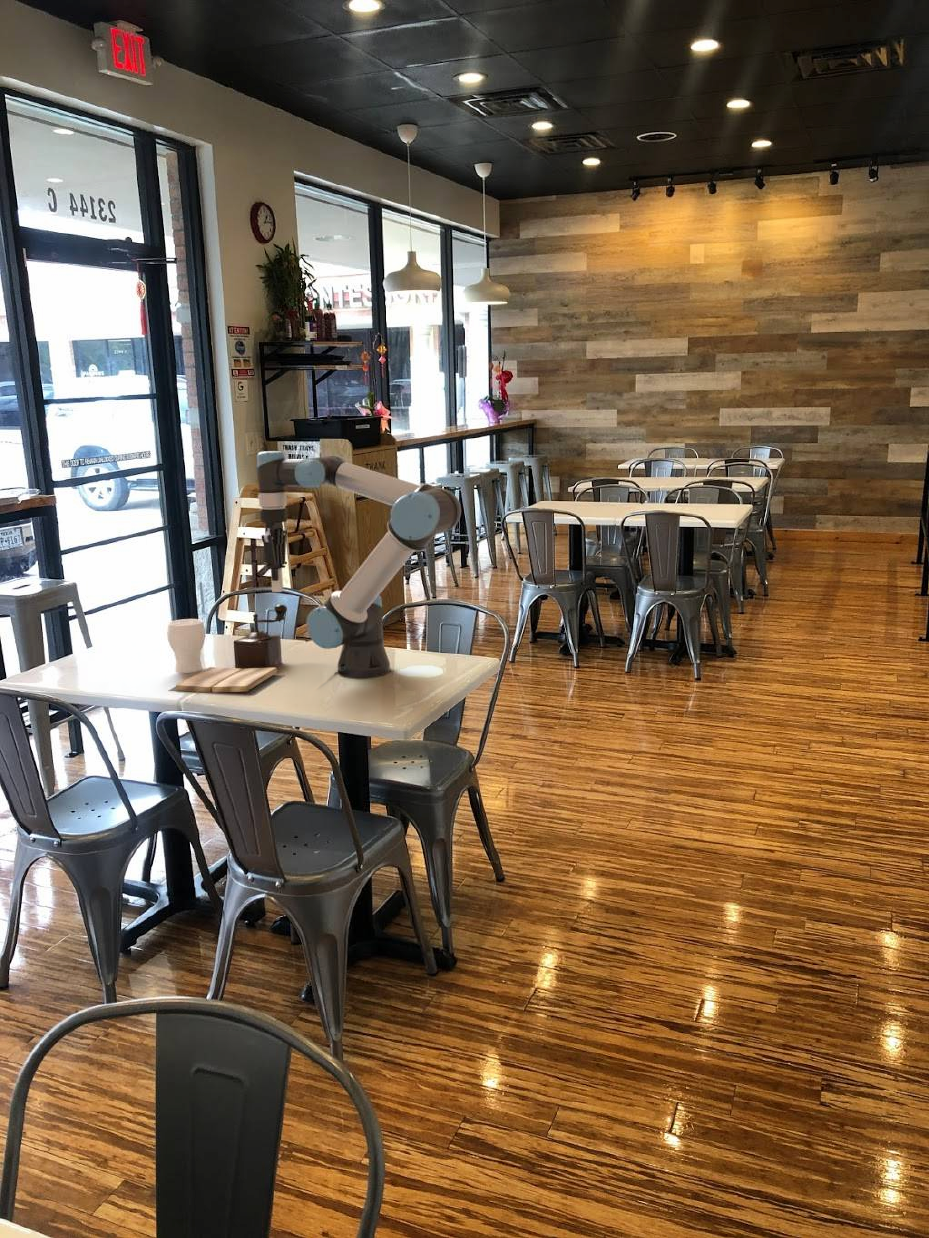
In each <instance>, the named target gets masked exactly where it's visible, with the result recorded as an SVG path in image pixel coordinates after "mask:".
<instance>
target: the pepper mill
mask: <svg viewBox="0 0 929 1238" xmlns="http://www.w3.org/2000/svg"><path fill="white" fill-rule="evenodd" d="M287 607H288V606H286V605H285V604H280V603H279V604H277V605H275V606H274V612H275V613H276V615H275V616H276V617H275V619H258V615H259V614H257V613H253V616H252V617H253V620H252V621H253V623H254V631H252V632H250V633H248V634H247V635H245V636H243V637H240V638H238V639H235V640H233V655H234V656H233V657H234V668H241V669H246V668H274V667H276V668H277V667H278V666H279V665H281V664H282V663H283V661H282V643H281V640H282V639H281V635H276V634H269V632H268V631H263V630H259V623H267V624H269V623H275V622H277V623H278V622H279V623H281V621H285V615H286V614H287V612H288V608H287Z"/></svg>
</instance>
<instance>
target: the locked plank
mask: <svg viewBox="0 0 929 1238" xmlns="http://www.w3.org/2000/svg"><path fill="white" fill-rule="evenodd" d="M240 670H242V669H241V668H235V667H234V668H233V667H217V666H216V667H215V666H209V667H208V668H206V669H204V670H201V671H200V672H198V673H196V674H194V675H192V676H191V677H188V678H187V679H185V680H183V681H181V682H180V683H178V684H176V685H175V687H176V691H175V692H179V691H193V692H192V693H198V692H212V687H213V686H214V685H216V684H218V683H220V682H221V681H223V680H225V679H226V678H228V677H230V676H232V675H233V674H235V673H237V672H239V671H240Z"/></svg>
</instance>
